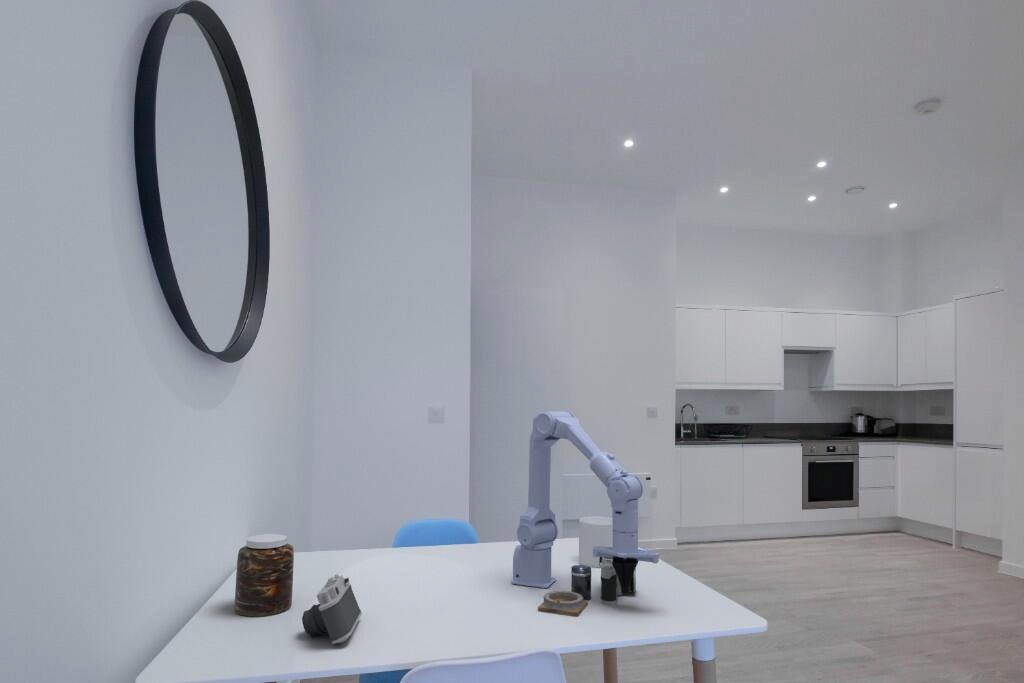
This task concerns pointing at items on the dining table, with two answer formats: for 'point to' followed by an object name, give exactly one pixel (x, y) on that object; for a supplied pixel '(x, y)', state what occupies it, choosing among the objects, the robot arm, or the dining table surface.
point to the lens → (581, 581)
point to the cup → (594, 538)
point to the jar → (264, 576)
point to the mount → (563, 603)
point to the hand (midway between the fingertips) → (625, 592)
